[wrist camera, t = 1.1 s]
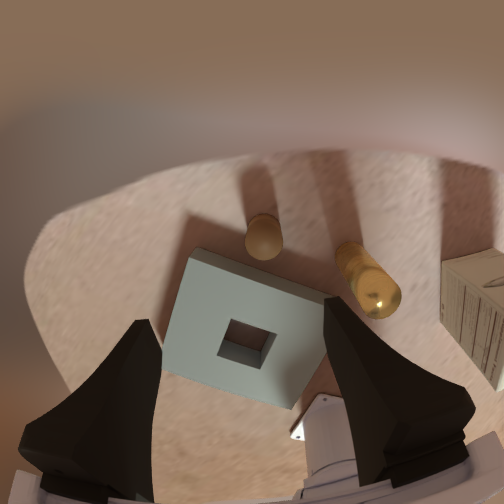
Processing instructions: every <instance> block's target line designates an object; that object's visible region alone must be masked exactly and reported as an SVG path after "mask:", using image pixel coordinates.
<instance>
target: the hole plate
mask: <svg viewBox="0 0 504 504" xmlns="http://www.w3.org/2000/svg"><path fill="white" fill-rule="evenodd" d="M331 297H334V296H332V295H329V294H326V293H323V292H320V291H317V290H315V289H312V288H309V287H306V286H303V285H301V284H298V283H295V282H292V281H289V280H287V279H284V278H281V277H278V276H276V275H273V274H270V273H267V272H265V271H262V270H259V269H256V268H253V267H251V266H248V265H245V264H243V263H240V262H237V261H234V260H232V259H229V258H226V257H223V256H221V255H218V254H215V253H212V252H210V251H207V250H204V249H202V248H199V247H196V248H195V250H194V251H193V252H192V254H191V255H190V256H189V259H188V262H187V265H186V268H185V272H184V275H183V278H182V281H181V285H180V288H179V291H178V295H177V298H176V301H175V305H174V308H173V312H172V315H171V319H170V322H169V326H168V329H167V333H166V336H165V340H164V344H163V347H162V352H163V354H162V369H163V370H166V371H168V372H171V373H173V374H176V375H179V376H182V377H184V378H187V379H190V380H193V381H196V382H198V383H201V384H204V385H207V386H210V387H213V388H216V389H219V390H223V391H226V392H229V393H232V394H235V395H239V396H242V397H245V398H249V399H252V400H256V401H259V402H263V403H267V404H271V405H274V406H278V407H282V408H286V409H290V410H292V408H293V406H294V405H295V403H296V402H297V400H298V399H299V397H300V396H301V394H302V392H303V391H304V389H305V388H306V386H307V384H308V383H309V381H310V380H311V378H312V376H313V375H314V373H315V371H316V370H317V368H318V366H319V365H320V363H321V361H322V359H323V358H324V356H325V354H326V353H327V350H326V346H325V341H324V337H323V321H324V299H325V298H331ZM231 319H234V320H237V321H240V322H243V323H246V324H249V325H252V326H254V327H257V328H260V329H263V330H266V331H269V332H270V333H269V335H268V337H267V340H266V342H265V344H264V346H263V348H262V350H261V352H260V351H257V350H254V349H251V348H248V347H245V346H242V345H239V344H236V343H233V342H230V341H227V340H224V339H223V338H224V335H225V333H226V330H227V328H228V325H229V323H230V320H231Z"/></svg>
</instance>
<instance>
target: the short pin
mask: <svg viewBox="0 0 504 504" xmlns="http://www.w3.org/2000/svg"><path fill="white" fill-rule="evenodd" d="M282 246H283V238H282V232H281V227H280V224H279V222H278V220H277V219H276V218H275V217H274V216H272V215H269V214H259V215H257V216H255V217H254V218H253V219H252V220H251V221H250V223H249V225H248V229H247V233H246V237H245V247H246V250H247V251H248V253H249V254H250V255H251V256H252V257H254V258H256V259H258V260H270V259H272V258H274V257H276V256H277V255H278V254H279V253H280V251H281V249H282Z"/></svg>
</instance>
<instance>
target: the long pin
mask: <svg viewBox="0 0 504 504" xmlns="http://www.w3.org/2000/svg"><path fill="white" fill-rule="evenodd" d="M335 262H336V264H337V266H338V268H339V269H340V271H341V273H342V275H343V276H344V278H345V280H346V281H347V283H348V285H349V287H350V288H351V290H352V292H353V293H354V295H355V297H356V299H357V300H358V302H359V304H360V306H361V308H362V309H363V311H364V313H365V314H366V315H367V316H369V317H370V318H373V319H383V318H386V317H388V316H390V315H391V314H393V313H394V312H395V311H396V310H397V308H398V307H399V305H400V302H401V290H400V288H399V286H398V285H397V284H396V283H395V281H394V280H393V279H392V278H391V277H390V276H389V275H388V274H387V273H386V272H385V271H384V269H383V268H382V267H381V266H380V265H379V264H378V263H377V262H376V261H375V260H374V259H373V258H372V257H371V256H370V255H369V254H368V252H367V251H366V250H365V249H364V248H363V247H362V246H361V245H360V244H358V243H356V242H346V243H344V244H342V245H341V246H340V247H339V248H338V249H337V251H336V254H335Z"/></svg>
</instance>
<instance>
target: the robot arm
mask: <svg viewBox="0 0 504 504" xmlns="http://www.w3.org/2000/svg"><path fill="white" fill-rule="evenodd" d="M323 337H324V341H325V346H326V350H327V354H328V358H329V360H330V363H331V366H332V369H333V372H334V375H335V377H336V380H337V383H338V386H339V389H340V391H341V394H342V397H343V398H339V397H335V396H331V395H326V394H318V395H317V396H316V398H315V399H314V401H313V402H312V404H311V405H310V407H309V408H308V410H307V411H306V413H305V414H304V415H303V417H302V418H301V420H300V421H299V423H298V424H297V425H296V427H295V428H294V430H293V431H292V432H291V434H290V437H291V438H293V439H297V440H302V441H305V450H306V460H307V471H308V478H307V479H304V488H302V489H299V490H297V492H296V494H295V495H294V497H293V499H292V500H288V501H280V502H271V503H260V504H481V503H483V502H484V501H486V500H488V499H489V498H491V497H492V496H494V495H496V494H497V493H498V492H500V491H501V490H503V489H504V449H503V447H502V445H501V443H500V440H499V438H498V436H497V434H496V432H495V431H492V432H490V433H488V434H486V435H484V436H482V437H480V438H478V439H476V440H474V441H472V442H471V443H469V444H468V445H466V446H465V444H464V441H463V440H464V439H465V434H464V431H463V429H464V427H465V426H466V425H467V424H468V422H469V421H470V420H471V418H472V417H473V415H474V413H475V410H476V407H475V405H474V403H473V401H472V399H471V397H470V395H469V394H468V392H467V391H466V389H465V387H462V386H460V385H457V384H455V383H452V382H449V381H447V380H444V379H442V378H440V377H438V376H436V375H434V374H432V373H430V372H428V371H426V370H424V369H423V368H421V367H419V366H418V365H416V364H414V363H412V362H411V361H409V360H408V359H406V358H405V357H403V356H402V355H401V354H399V353H398V352H396V351H395V350H394V349H392V348H391V347H390V346H389V345H388V344H386V343H385V342H384V341H383V340H382V339H381V338H379V337H378V336H377V335H376V334H375V333H374V332H373V331H372V330H371V329H370V328H369V327H368V326H367V325H366V324H365V323H364V322H363V321H362V320H361V319H360V318H359V317H358V316H357V315H356V314H355V313H354V312H353V311H352V310H351V309H350V308H349V307H348V305H347V304H346V303H345V302H344V301H343V300H342V299H341V298H340V297H339V296H337V297H331V298H325V299H324V321H323ZM162 354H163V352H162V350H161V347H160V345H159V343H158V341H157V338H156V336H155V334H154V331H153V329H152V326H151V324H150V322H149V319H142V320H135V321H134V322H133V323H132V325H131V326H130V327H129V329H128V330H127V331H126V333H125V334H124V335H123V337H122V338H121V339H120V341H119V342H118V343H117V345H116V346H115V347H114V348H113V350H112V351H111V352H110V354H109V355H108V356H107V357H106V359H105V360H104V361H103V362H102V363H101V364H100V366H99V367H98V368H97V369H96V370H95V372H94V373H93V374H92V375H91V376H90V377H89V378H88V379H87V380H86V381H85V382H84V383H83V384H82V385H81V386H80V387H79V388H78V389H77V390H75V391H74V392H73V393H72V394H71V395H70V396H68V397H67V398H66V399H65V400H64V401H62V402H61V403H60V404H59V405H57V406H56V407H54V408H53V409H52V410H50V411H49V412H47V413H46V414H44V415H43V416H41V417H39V418H37V419H36V420H34V421H32V422H31V423H29V424H27V425H26V427H25V429H24V432H23V435H22V438H21V441H20V444H19V447H18V451H19V453H20V454H21V455H22V456H23V457H24V458H25V459H26V460H27V461H28V462H30V463H31V464H33V465H34V466H35V467H37V468H38V469H39V470H40V471H42V472H43V475H42V478H41V477H39V476H36V475H34V474H30V473H28V472H24V471H21V470H17V471H16V474H15V478H14V482H13V485H12V489H11V493H10V497H9V501H8V504H159V503H154V496H153V485H152V467H151V441H152V423H153V416H154V410H155V405H156V399H157V394H158V389H159V383H160V378H161V371H162ZM324 398H326V399H324Z"/></svg>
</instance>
